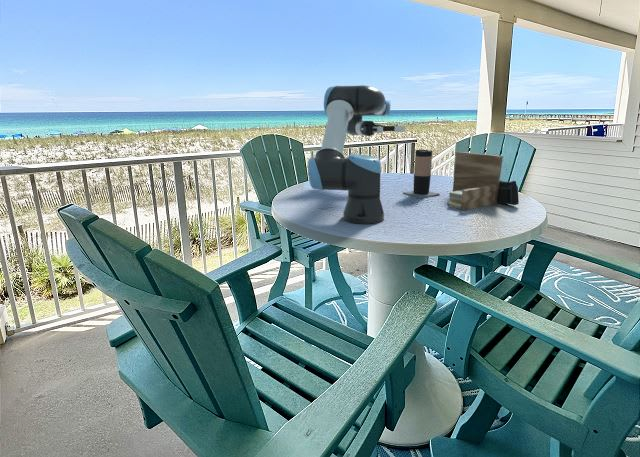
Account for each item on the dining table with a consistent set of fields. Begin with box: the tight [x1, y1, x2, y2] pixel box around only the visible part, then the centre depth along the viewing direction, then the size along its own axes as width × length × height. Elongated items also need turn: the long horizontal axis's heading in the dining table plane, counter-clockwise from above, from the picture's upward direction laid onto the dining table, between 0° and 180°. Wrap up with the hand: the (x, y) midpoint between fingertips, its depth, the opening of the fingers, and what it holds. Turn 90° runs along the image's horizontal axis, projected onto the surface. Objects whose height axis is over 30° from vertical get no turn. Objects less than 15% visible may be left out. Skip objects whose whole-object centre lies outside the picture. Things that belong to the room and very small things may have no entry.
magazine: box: [497, 180, 520, 206], centre depth 162 cm, size 17×3×30 cm
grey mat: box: [402, 190, 441, 199], centre depth 176 cm, size 12×12×1 cm
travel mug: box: [413, 149, 433, 195], centre depth 173 cm, size 8×8×20 cm
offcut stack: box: [447, 188, 472, 210], centre depth 156 cm, size 16×8×6 cm, turn 128°
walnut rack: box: [452, 151, 504, 211], centre depth 158 cm, size 21×22×20 cm
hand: (393, 129), depth 174 cm, fingers open, 13 cm apart
